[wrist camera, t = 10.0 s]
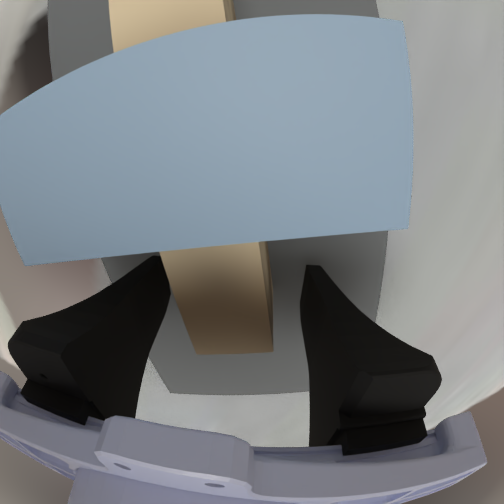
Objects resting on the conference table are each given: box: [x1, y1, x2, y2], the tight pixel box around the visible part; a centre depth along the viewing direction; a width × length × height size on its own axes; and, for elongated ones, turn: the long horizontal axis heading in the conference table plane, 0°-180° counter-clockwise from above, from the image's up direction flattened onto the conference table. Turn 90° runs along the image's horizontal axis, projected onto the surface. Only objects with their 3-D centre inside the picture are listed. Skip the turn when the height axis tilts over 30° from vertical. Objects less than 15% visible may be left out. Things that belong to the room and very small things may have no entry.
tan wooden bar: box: [109, 0, 273, 355], centre depth 8 cm, size 17×3×4 cm, turn 8°
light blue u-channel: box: [0, 14, 413, 266], centre depth 7 cm, size 4×9×6 cm, turn 98°
